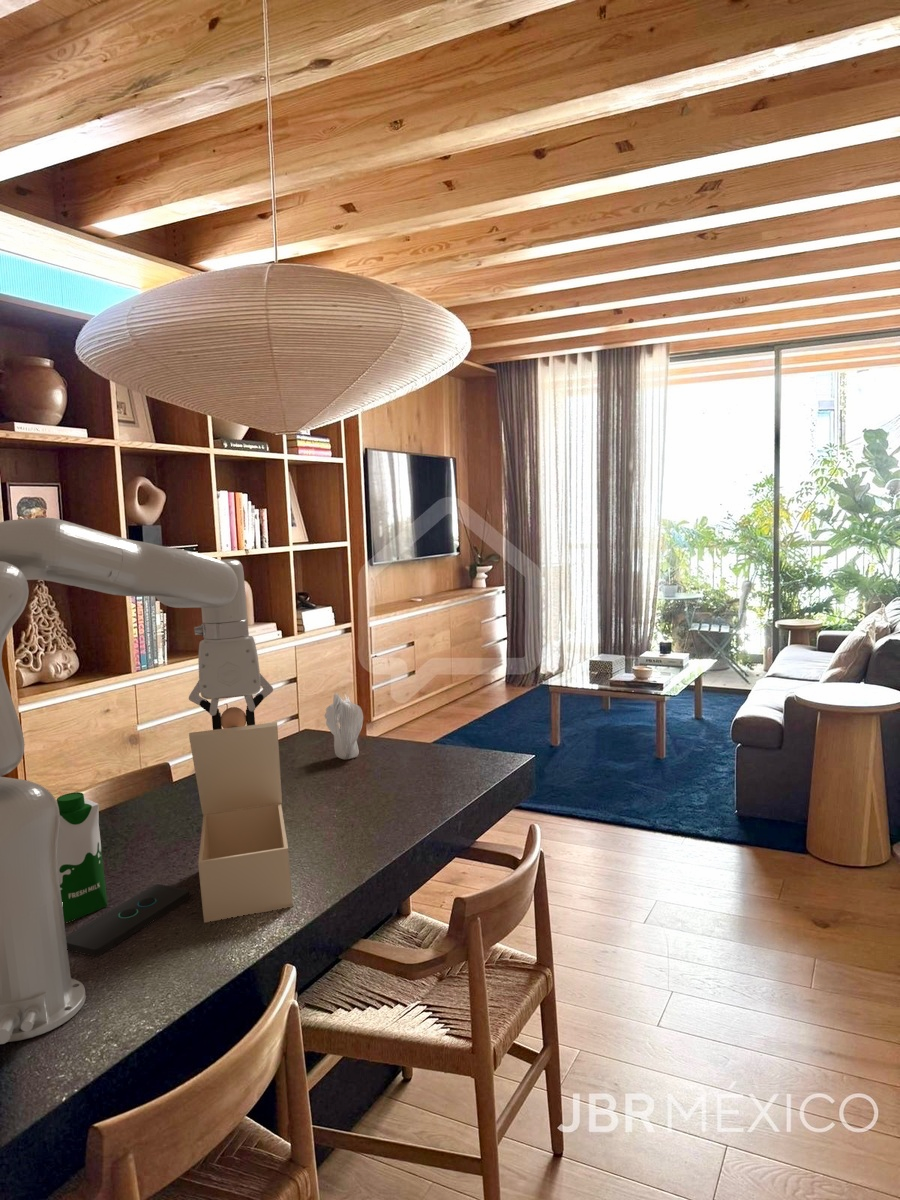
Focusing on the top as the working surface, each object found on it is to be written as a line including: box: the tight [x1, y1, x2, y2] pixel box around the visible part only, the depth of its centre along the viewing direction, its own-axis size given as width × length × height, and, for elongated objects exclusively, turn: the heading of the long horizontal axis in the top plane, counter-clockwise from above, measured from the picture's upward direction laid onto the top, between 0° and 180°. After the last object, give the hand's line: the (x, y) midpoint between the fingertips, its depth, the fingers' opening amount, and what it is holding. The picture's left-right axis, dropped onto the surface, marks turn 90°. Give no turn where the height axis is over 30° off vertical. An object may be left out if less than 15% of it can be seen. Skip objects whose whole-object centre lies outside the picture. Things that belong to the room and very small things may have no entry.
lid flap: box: [188, 706, 283, 815], centre depth 146 cm, size 22×14×7 cm
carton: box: [197, 803, 294, 923], centre depth 140 cm, size 22×14×10 cm, turn 15°
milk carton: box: [56, 791, 108, 923], centre depth 135 cm, size 9×9×20 cm
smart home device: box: [66, 883, 191, 957], centre depth 131 cm, size 8×2×20 cm
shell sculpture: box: [324, 692, 364, 760], centre depth 212 cm, size 8×8×18 cm
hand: (234, 733), depth 142 cm, fingers closed on lid flap, 4 cm apart
